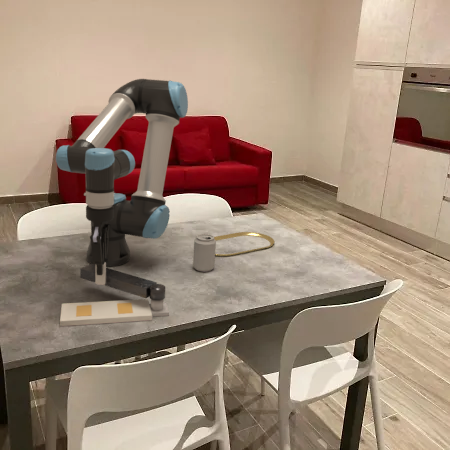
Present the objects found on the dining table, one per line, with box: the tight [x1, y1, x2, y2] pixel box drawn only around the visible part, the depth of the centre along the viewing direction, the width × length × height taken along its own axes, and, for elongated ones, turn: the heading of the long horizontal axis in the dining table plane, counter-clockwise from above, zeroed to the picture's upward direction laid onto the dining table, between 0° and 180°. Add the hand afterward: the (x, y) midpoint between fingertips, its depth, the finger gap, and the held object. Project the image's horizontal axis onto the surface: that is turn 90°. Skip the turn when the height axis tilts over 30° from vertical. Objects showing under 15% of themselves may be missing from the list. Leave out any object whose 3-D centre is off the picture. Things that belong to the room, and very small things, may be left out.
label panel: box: [59, 298, 170, 327], centre depth 137 cm, size 10×29×4 cm, turn 105°
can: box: [192, 233, 217, 273], centre depth 171 cm, size 8×8×12 cm
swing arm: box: [79, 263, 166, 300], centre depth 144 cm, size 28×5×3 cm, turn 63°
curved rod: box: [214, 231, 275, 257], centre depth 197 cm, size 19×35×2 cm, turn 126°
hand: (100, 283), depth 143 cm, fingers closed
